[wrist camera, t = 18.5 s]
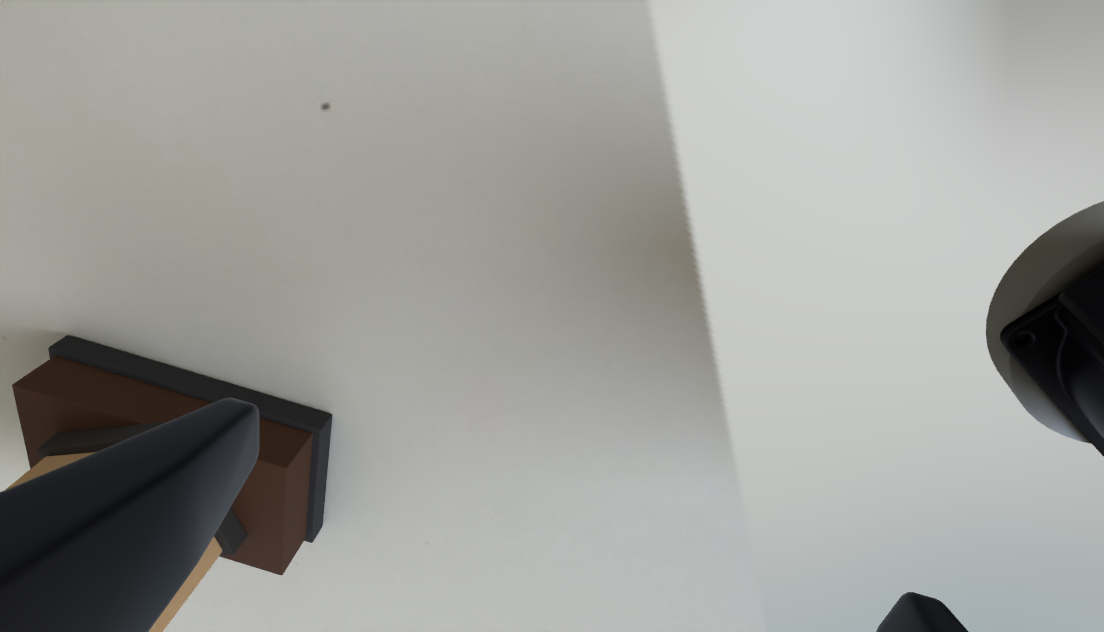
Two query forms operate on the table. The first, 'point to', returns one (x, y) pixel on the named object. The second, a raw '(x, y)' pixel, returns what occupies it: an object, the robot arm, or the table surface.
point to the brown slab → (168, 393)
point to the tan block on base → (87, 442)
